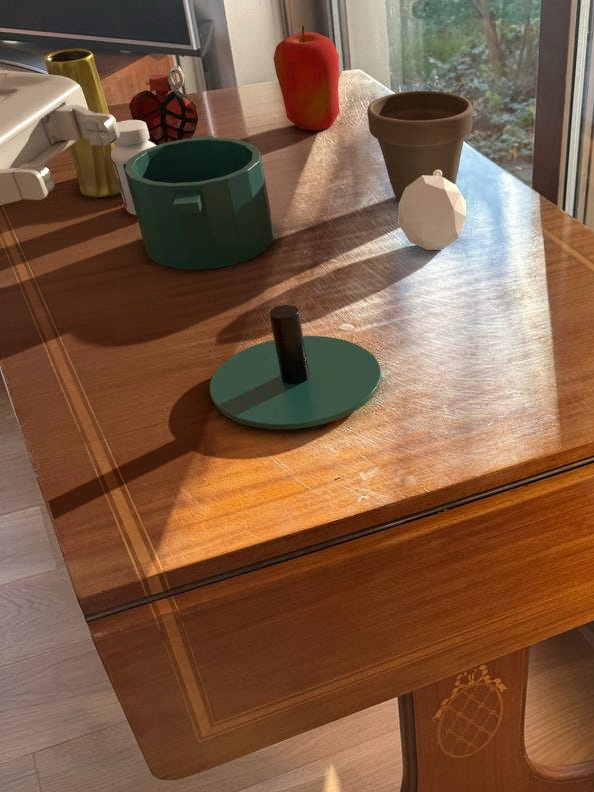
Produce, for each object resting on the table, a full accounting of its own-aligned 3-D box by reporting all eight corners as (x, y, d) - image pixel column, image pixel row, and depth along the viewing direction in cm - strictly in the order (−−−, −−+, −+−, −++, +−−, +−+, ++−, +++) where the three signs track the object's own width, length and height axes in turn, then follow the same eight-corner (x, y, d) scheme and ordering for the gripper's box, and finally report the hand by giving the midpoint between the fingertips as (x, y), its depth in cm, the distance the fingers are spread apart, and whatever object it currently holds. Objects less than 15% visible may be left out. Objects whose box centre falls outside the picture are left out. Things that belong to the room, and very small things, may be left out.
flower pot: (460, 175, 119) (457, 83, 111) (486, 211, 111) (485, 114, 104) (367, 187, 117) (358, 94, 109) (386, 224, 109) (378, 127, 102)
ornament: (384, 246, 105) (395, 168, 103) (448, 263, 107) (460, 186, 106) (403, 235, 98) (415, 151, 97) (471, 253, 101) (483, 171, 100)
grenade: (206, 158, 125) (187, 71, 118) (141, 165, 124) (119, 77, 117) (205, 145, 128) (187, 59, 121) (142, 151, 127) (120, 65, 120)
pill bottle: (182, 204, 114) (162, 122, 108) (149, 220, 111) (127, 136, 105) (149, 195, 116) (128, 114, 110) (116, 211, 113) (93, 128, 107)
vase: (69, 195, 117) (27, 61, 107) (100, 176, 121) (62, 45, 111) (112, 200, 116) (74, 65, 106) (142, 181, 120) (107, 49, 110)
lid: (205, 442, 79) (184, 363, 74) (218, 353, 89) (201, 278, 84) (385, 428, 80) (376, 348, 75) (378, 340, 90) (370, 265, 85)
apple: (293, 114, 136) (279, 16, 128) (352, 115, 135) (341, 16, 127) (275, 135, 130) (259, 34, 122) (337, 137, 129) (325, 34, 121)
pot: (136, 286, 100) (111, 200, 94) (158, 212, 113) (138, 133, 107) (270, 276, 100) (255, 191, 94) (277, 204, 114) (263, 125, 108)
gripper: (-210, 158, 63) (-21, 167, 60) (-28, 54, 76) (133, 58, 74) (-158, 253, 67) (19, 266, 65) (5, 140, 81) (157, 147, 78)
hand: (81, 155), depth 69 cm, fingers open, 8 cm apart
